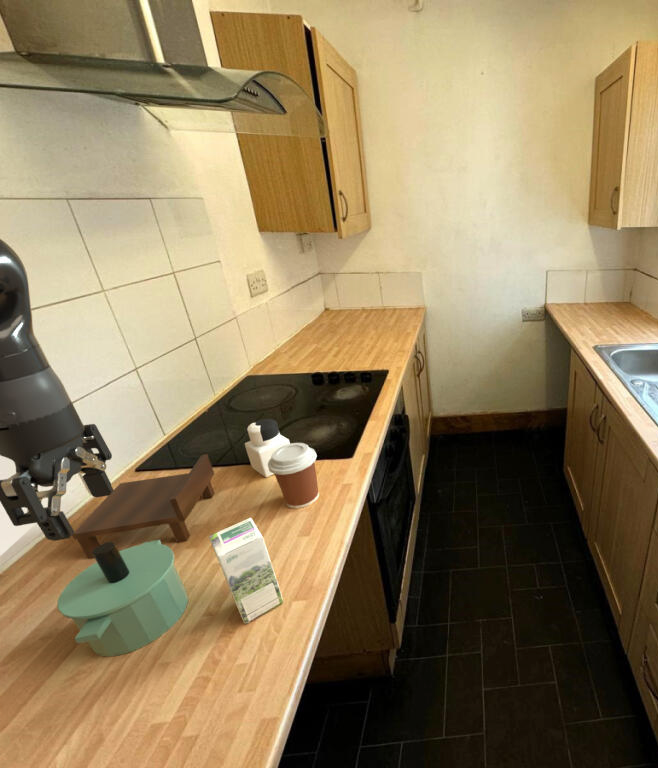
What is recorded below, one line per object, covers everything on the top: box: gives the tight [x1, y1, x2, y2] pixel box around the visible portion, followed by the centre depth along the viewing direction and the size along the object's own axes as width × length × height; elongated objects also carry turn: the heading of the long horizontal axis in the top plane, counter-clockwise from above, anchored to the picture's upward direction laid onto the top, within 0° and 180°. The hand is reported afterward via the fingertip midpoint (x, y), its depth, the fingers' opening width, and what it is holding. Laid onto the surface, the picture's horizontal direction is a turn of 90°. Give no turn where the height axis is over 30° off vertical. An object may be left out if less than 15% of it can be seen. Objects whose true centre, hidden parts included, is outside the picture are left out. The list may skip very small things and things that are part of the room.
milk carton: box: [208, 517, 284, 625], centre depth 64 cm, size 6×6×14 cm
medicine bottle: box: [244, 418, 291, 478], centre depth 99 cm, size 7×7×12 cm
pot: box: [71, 539, 189, 657], centre depth 63 cm, size 12×17×8 cm
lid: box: [57, 541, 176, 620], centre depth 60 cm, size 13×13×7 cm
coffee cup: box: [267, 442, 320, 509], centre depth 88 cm, size 9×9×12 cm
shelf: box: [71, 453, 215, 560], centre depth 82 cm, size 17×15×10 cm
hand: (85, 515), depth 56 cm, fingers open, 8 cm apart
